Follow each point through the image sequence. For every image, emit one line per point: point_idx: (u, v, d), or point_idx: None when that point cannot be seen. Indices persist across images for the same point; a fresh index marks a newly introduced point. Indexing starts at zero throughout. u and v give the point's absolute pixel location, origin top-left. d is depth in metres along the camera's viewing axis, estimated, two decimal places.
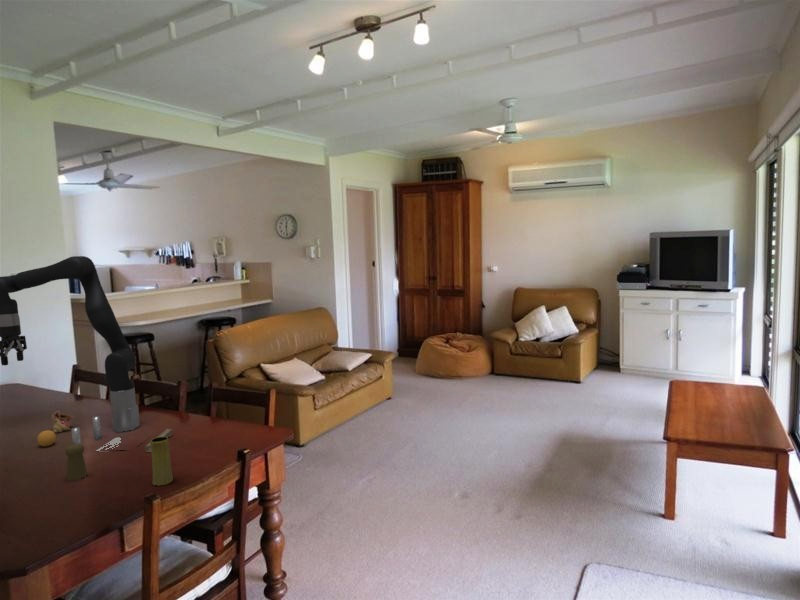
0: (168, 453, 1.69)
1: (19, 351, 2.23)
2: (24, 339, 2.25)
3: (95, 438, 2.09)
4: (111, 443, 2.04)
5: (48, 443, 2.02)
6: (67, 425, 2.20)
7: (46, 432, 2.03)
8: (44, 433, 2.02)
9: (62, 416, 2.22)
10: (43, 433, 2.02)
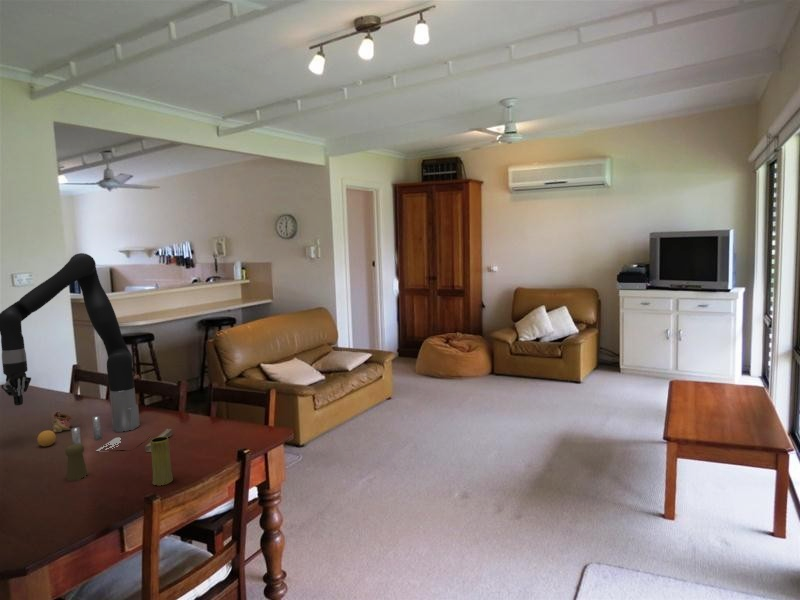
0: (168, 453, 1.69)
1: None
2: (29, 381, 2.07)
3: (95, 438, 2.09)
4: (111, 443, 2.04)
5: (48, 443, 2.02)
6: (67, 425, 2.21)
7: (46, 432, 2.03)
8: (44, 433, 2.02)
9: (62, 416, 2.22)
10: (43, 433, 2.02)
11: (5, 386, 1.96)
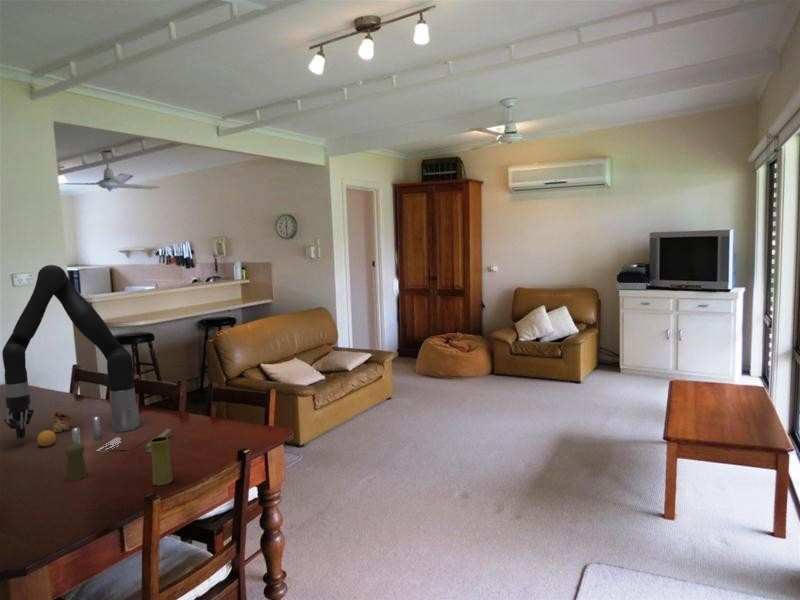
0: (168, 453, 1.69)
1: None
2: (31, 413, 2.08)
3: (95, 438, 2.09)
4: (111, 443, 2.04)
5: (48, 443, 2.02)
6: (67, 425, 2.21)
7: (46, 432, 2.03)
8: (44, 433, 2.02)
9: (62, 416, 2.22)
10: (43, 433, 2.02)
11: (8, 420, 1.97)
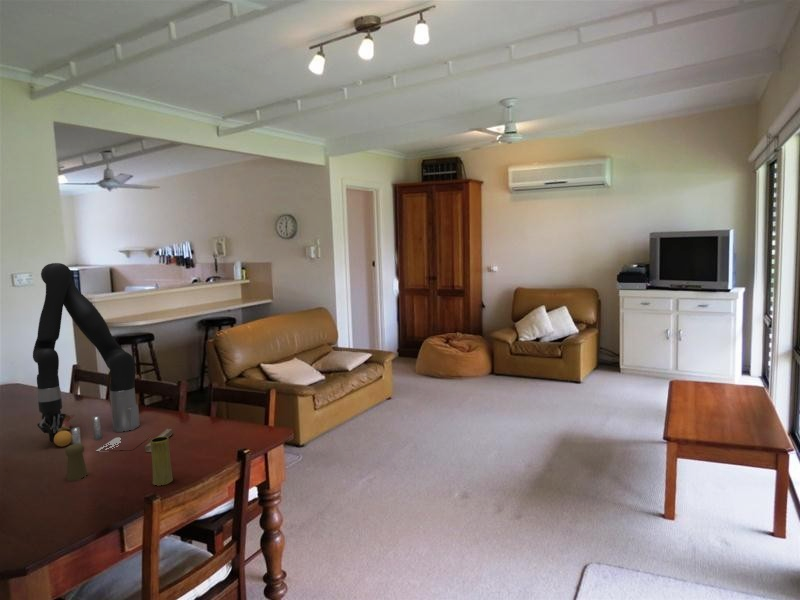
0: (168, 453, 1.69)
1: None
2: (63, 417, 2.09)
3: (95, 438, 2.09)
4: (111, 443, 2.04)
5: None
6: (67, 425, 2.21)
7: (66, 444, 2.03)
8: (65, 443, 2.02)
9: None
10: (65, 442, 2.02)
11: (41, 424, 1.98)
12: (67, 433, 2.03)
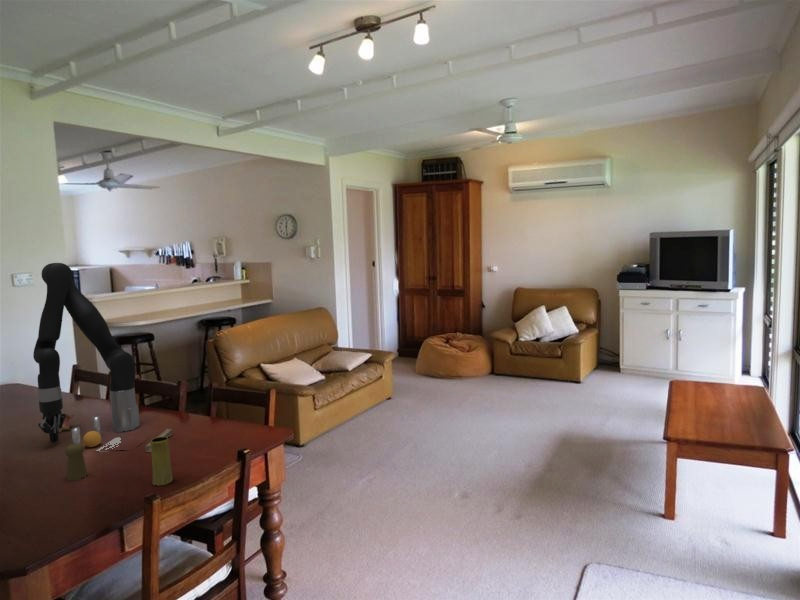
0: (168, 453, 1.69)
1: None
2: (63, 417, 2.08)
3: None
4: (111, 443, 2.04)
5: (95, 442, 2.00)
6: (67, 425, 2.21)
7: (90, 432, 2.01)
8: (88, 433, 2.00)
9: None
10: (87, 434, 2.00)
11: (42, 424, 1.97)
12: None
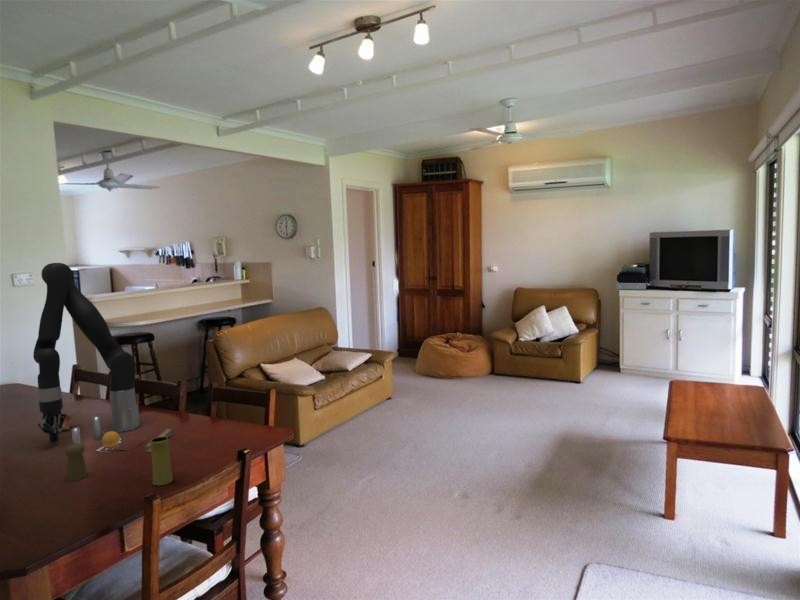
0: (168, 453, 1.69)
1: None
2: (63, 417, 2.08)
3: (95, 438, 2.09)
4: None
5: (102, 442, 2.00)
6: (67, 425, 2.21)
7: (113, 446, 2.00)
8: (112, 446, 2.00)
9: None
10: (112, 445, 2.00)
11: (42, 424, 1.97)
12: (117, 436, 2.01)
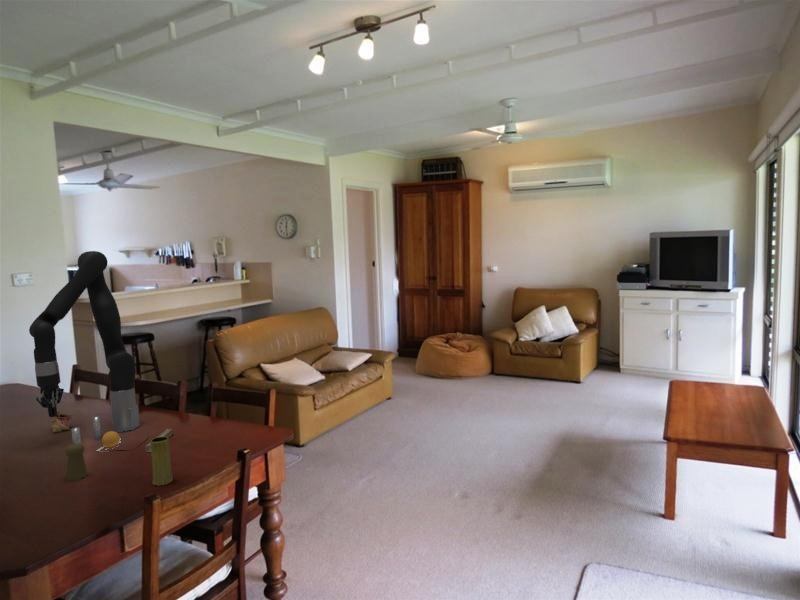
0: (168, 453, 1.69)
1: None
2: (61, 392, 2.07)
3: (95, 438, 2.09)
4: None
5: (102, 442, 2.00)
6: (66, 425, 2.21)
7: (113, 446, 2.00)
8: (112, 446, 2.00)
9: (61, 416, 2.23)
10: (112, 445, 2.00)
11: (40, 398, 1.96)
12: (117, 436, 2.01)
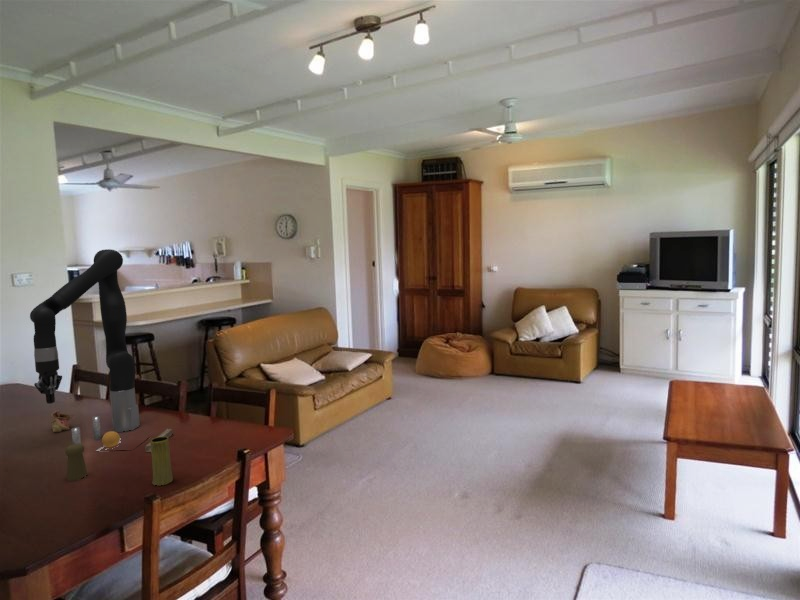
0: (168, 453, 1.69)
1: None
2: (60, 379, 2.07)
3: (95, 438, 2.09)
4: None
5: (102, 442, 2.00)
6: (66, 424, 2.21)
7: (113, 446, 2.00)
8: (112, 446, 2.00)
9: (61, 416, 2.23)
10: (112, 445, 2.00)
11: (38, 384, 1.96)
12: (117, 436, 2.01)
